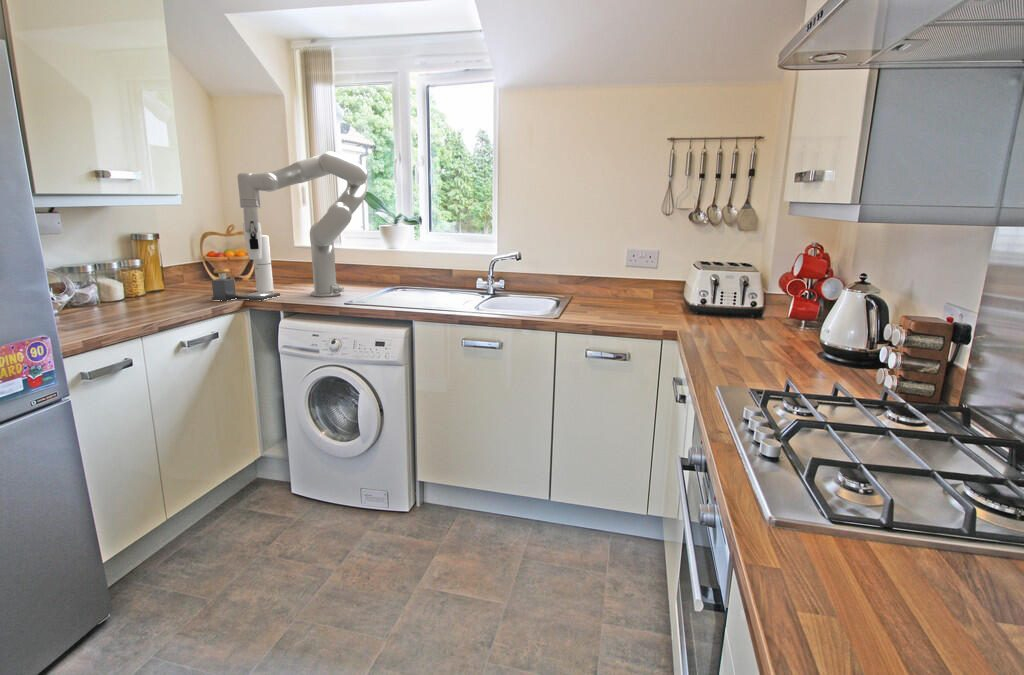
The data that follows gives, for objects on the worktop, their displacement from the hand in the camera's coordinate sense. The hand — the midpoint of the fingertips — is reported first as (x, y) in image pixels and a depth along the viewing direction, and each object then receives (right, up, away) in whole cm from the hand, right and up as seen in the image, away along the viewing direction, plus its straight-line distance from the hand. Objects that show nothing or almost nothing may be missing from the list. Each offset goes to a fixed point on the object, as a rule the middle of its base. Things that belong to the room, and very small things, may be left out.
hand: (254, 247), depth 239 cm
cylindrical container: (-5, -16, +22) cm, 28 cm away
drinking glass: (0, -5, +1) cm, 5 cm away
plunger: (-12, -17, -1) cm, 21 cm away
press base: (-5, -21, +3) cm, 22 cm away
